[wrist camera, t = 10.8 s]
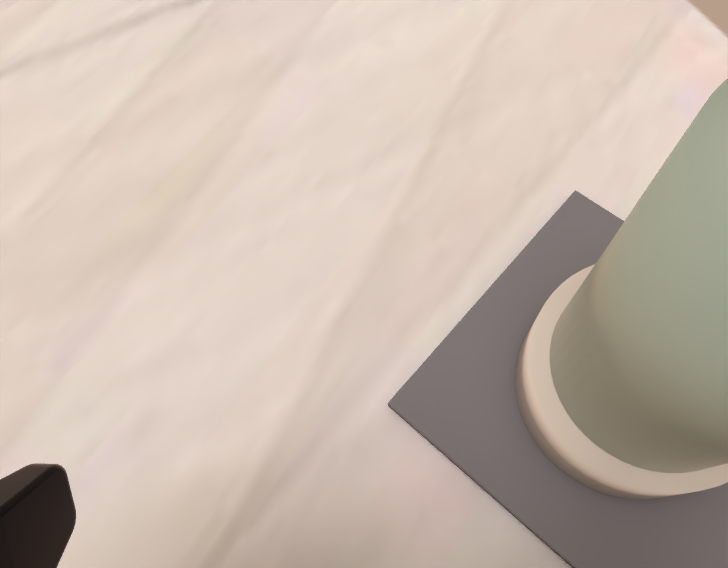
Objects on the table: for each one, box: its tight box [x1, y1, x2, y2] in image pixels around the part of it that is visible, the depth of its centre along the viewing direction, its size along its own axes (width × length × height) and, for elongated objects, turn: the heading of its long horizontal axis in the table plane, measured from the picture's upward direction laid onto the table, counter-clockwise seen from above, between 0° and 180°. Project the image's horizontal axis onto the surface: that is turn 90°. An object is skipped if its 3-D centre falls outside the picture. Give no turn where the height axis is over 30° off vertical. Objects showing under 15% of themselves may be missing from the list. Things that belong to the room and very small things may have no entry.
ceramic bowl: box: [515, 264, 728, 500], centre depth 20 cm, size 8×8×3 cm
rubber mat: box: [388, 191, 728, 568], centre depth 21 cm, size 12×12×1 cm
